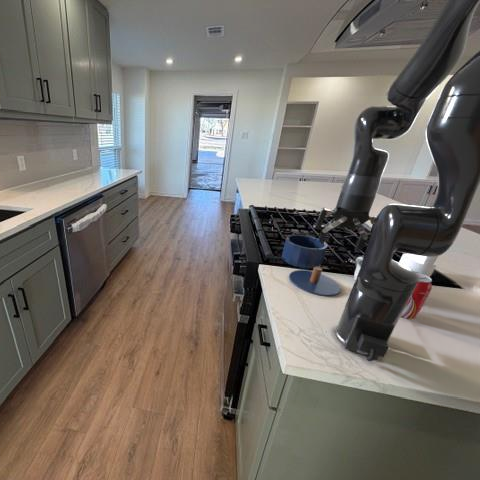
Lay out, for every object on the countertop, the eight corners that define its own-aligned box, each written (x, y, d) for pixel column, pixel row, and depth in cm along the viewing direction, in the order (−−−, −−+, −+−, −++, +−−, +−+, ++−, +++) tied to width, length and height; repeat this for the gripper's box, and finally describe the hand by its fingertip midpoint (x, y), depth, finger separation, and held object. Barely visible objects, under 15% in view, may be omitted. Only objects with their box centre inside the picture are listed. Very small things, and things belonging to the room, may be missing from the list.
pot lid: (341, 303, 74) (348, 285, 72) (287, 288, 80) (291, 272, 78) (336, 280, 86) (342, 264, 83) (289, 269, 92) (293, 254, 90)
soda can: (376, 304, 74) (392, 268, 69) (400, 305, 74) (418, 269, 69) (395, 320, 68) (415, 282, 63) (422, 321, 67) (444, 283, 63)
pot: (321, 274, 89) (328, 252, 86) (279, 264, 95) (285, 243, 92) (319, 258, 100) (326, 239, 97) (282, 250, 106) (287, 232, 103)
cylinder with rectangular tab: (390, 266, 96) (403, 237, 91) (417, 269, 95) (432, 240, 90) (406, 278, 88) (421, 247, 83) (436, 282, 86) (453, 250, 82)
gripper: (327, 190, 67) (311, 245, 73) (396, 198, 61) (371, 258, 67) (326, 185, 73) (311, 237, 79) (389, 192, 67) (366, 247, 73)
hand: (339, 246), depth 73 cm, fingers open, 8 cm apart
